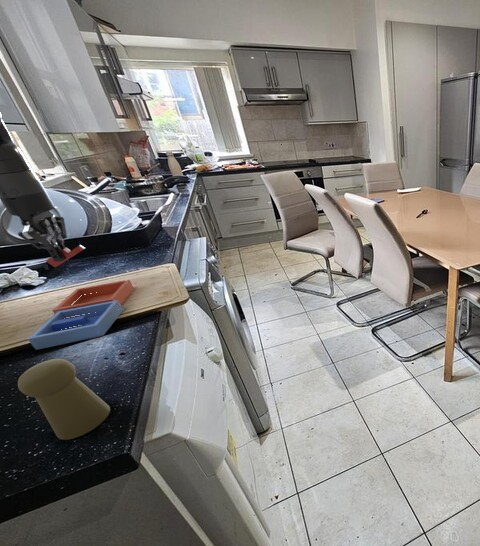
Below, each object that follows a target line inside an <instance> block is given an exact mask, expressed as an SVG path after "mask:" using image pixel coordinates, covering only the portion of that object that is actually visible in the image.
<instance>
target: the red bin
mask: <svg viewBox="0 0 480 546" xmlns="http://www.w3.org/2000/svg"><path fill="white" fill-rule="evenodd" d="M134 289H135V287H134V285H133V284H132V281H131V280H130V279H125V280H119V281H114V282H113V281H112V282H108V283H107V282H106V283H102V284H96V285H90V286H84V287H79V288H76V289H74V291H73V292H71V293H70V294H69V295H68V296H67V297H66V298H65V299H63V300H62V301H61V302H60V303H59V304H58V305H57V306H55V307H54V308H52V310H51V311H52V312H53V313H54V314H53V315H55V314H56V313H57V312H58V311H63V310H68V309H74V308H79V307H84V306H90V305H95V304H100V303H106V302H111V301H116V300H118V301H119V303H120V305H121V306H122V305H123V303H124V302H125V301H126V300H127V298H128V297H129V296H130V295H131V293H132V292H133V291H134ZM96 292H97V293H96ZM90 293H92V294H90ZM84 294H86V295H84ZM81 295H82V296H81ZM80 296H81V297H80ZM79 297H80V298H79ZM78 298H79V299H78ZM77 299H78V300H77ZM76 300H77V301H76ZM74 301H76V302H75V303H74V304H73V305H71V304H72V303H73V302H74Z"/></svg>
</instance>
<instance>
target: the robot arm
mask: <svg viewBox="0 0 480 546" xmlns="http://www.w3.org/2000/svg"><path fill="white" fill-rule="evenodd" d="M0 201H1V203H2V204H3V206H4V208H5V209H6V210H7V212H8V214H9V215H10V216H14V217H18V218H19V220H20V222H21V225H22V226H23V231H22V230H21V231H18V232H17V235H18V236H19V237H20V238H21V239H23V240H24V241H26V242H27V243H29V244H30V245H31V246H33V247H34V248H36V249H38V250H41V249H45V250H47V252H48V254H49V255H50V256H51V257H52V258H53V260H54V261H64V260H65V259H66V257H65V256H64V254H63V252H62V250H63V249H64V248H66V245H65V239H67V238H68V235H67V230H66V229H67V228H66V223H65V217H64V216H62V215H59V216H57V215H55V214H54V212H52V211H53V209H55V204H54V202H53V200H52V199H51V197H50V195H49V193H48V191H47V190H46V188H45V186H44V185H43V183H42V181H41V179H40V178H39V177H38V176H37V174H36V173H35V172H34V170H33V168H32V167H31V165H30V163H29V162H28V160H27V157H26V156H25V155H24V153H23V152H22V151H21V149H20V147H19V146H18V145H17V144H16V143H15V142H14V140H13V138H12V136H11V133H10V132H9V129H8V128H7V126H6V125H5V123H4V121H3V118H2V114H1V113H0Z"/></svg>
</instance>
